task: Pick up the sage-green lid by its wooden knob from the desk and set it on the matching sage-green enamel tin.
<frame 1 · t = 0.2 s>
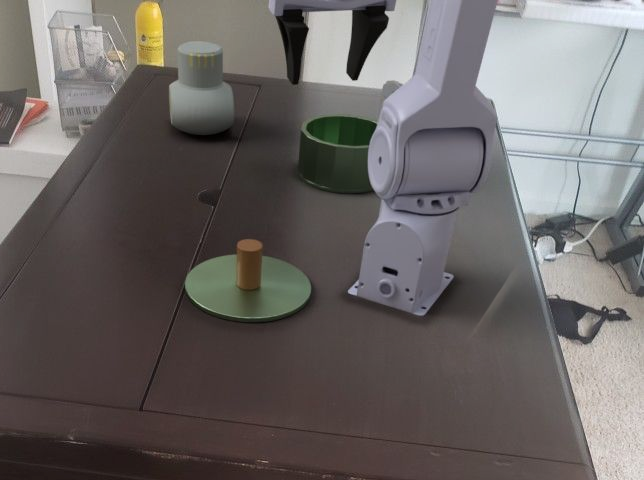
hand: (322, 78, 88), 10 cm above the table, tool pointing down, fingers open, 7 cm apart
tin: (341, 175, 94), on the table
air freshener: (201, 130, 103), on the table
lid: (248, 288, 72), point 1 cm above the table
handheld gaming console: (402, 157, 100), on the table
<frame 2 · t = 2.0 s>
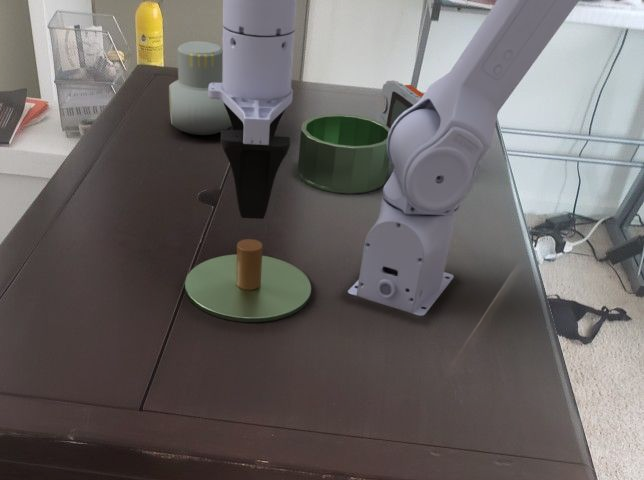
hand: (252, 198, 68), 8 cm above the table, tool pointing down, fingers open, 7 cm apart
nothing on the table moved.
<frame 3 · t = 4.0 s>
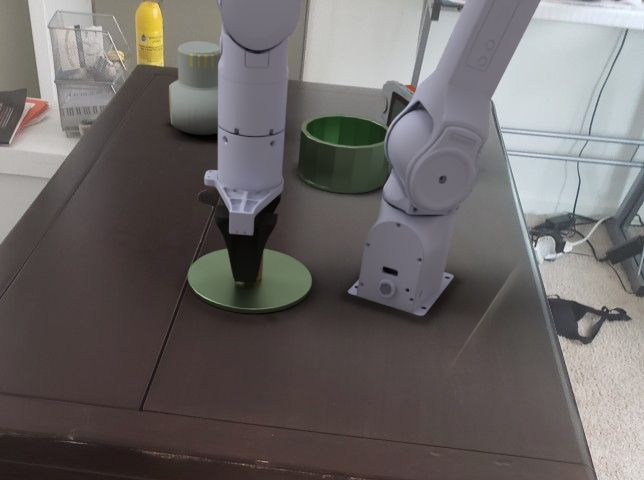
hand: (246, 272, 73), 1 cm above the table, tool pointing down, fingers closed on lid, 2 cm apart
lid: (249, 280, 73), point 1 cm above the table, touching gripper
everything else where it was.
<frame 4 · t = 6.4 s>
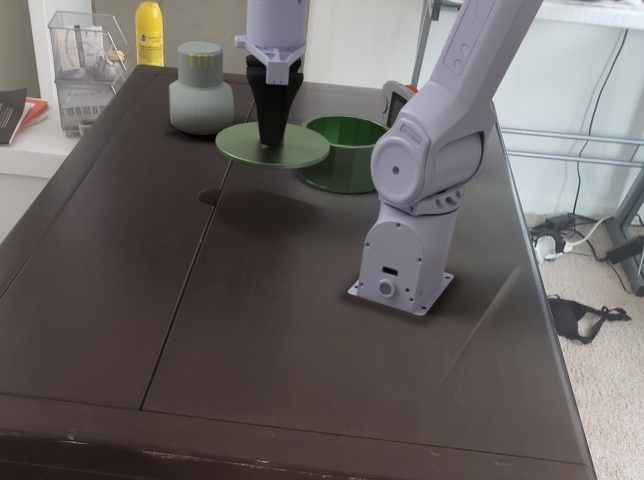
hand: (270, 138, 79), 8 cm above the table, tool pointing down, fingers closed on lid, 2 cm apart
lid: (272, 146, 79), point 8 cm above the table, touching gripper
everything else where it was.
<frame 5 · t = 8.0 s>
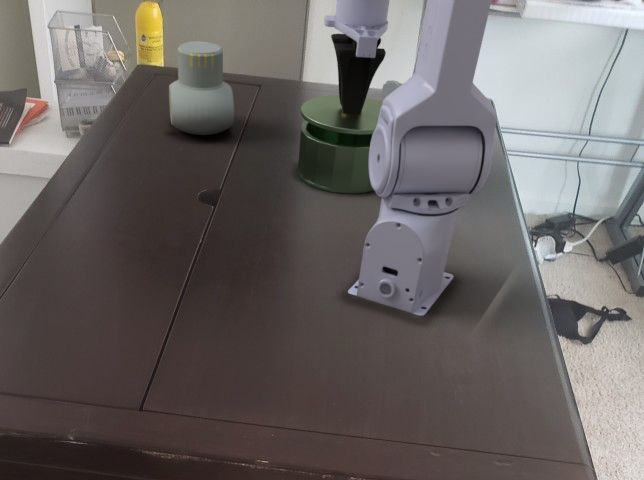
hand: (349, 108, 89), 8 cm above the table, tool pointing down, fingers closed on lid, 2 cm apart
lid: (351, 116, 89), point 7 cm above the table, touching gripper
everything else where it was.
when the fingers open (6 cm above the table, at t = 8.8 s): lid stays where it is, resting on tin.
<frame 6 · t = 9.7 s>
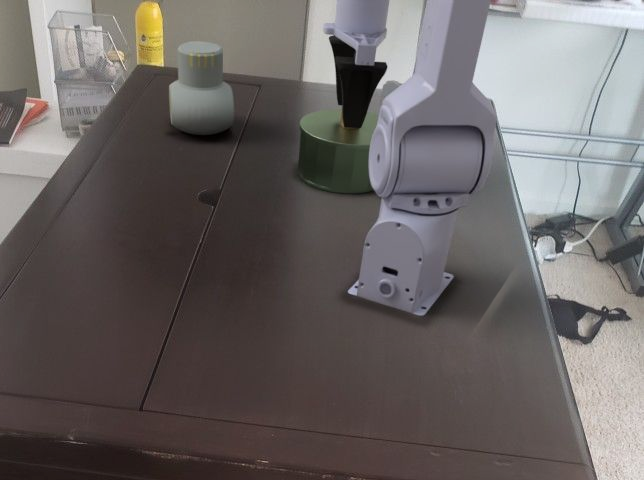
hand: (349, 115, 89), 7 cm above the table, tool pointing down, fingers open, 7 cm apart
lid: (349, 130, 91), point 5 cm above the table, touching tin
everything else where it was.
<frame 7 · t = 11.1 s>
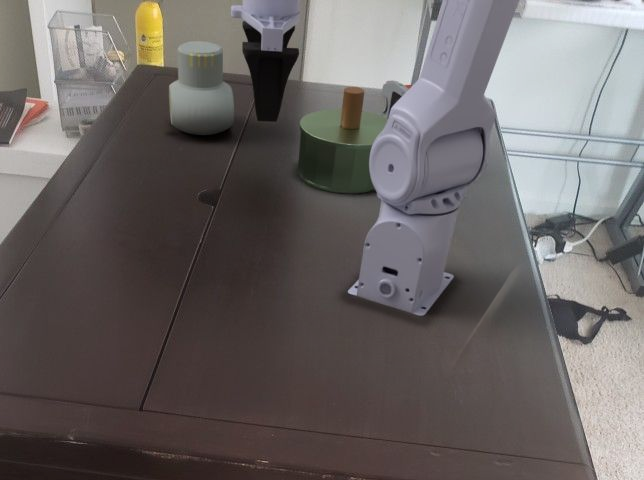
hand: (266, 108, 81), 10 cm above the table, tool pointing down, fingers open, 7 cm apart
nothing on the table moved.
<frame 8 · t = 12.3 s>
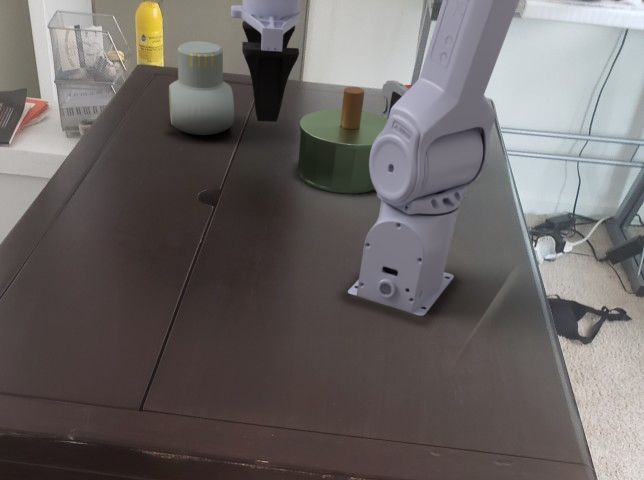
hand: (266, 108, 81), 10 cm above the table, tool pointing down, fingers open, 7 cm apart
nothing on the table moved.
at the end: lid 0.2 cm off-centre on the tin, point 5.4 cm above the tin's base; lid tilted 0° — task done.
